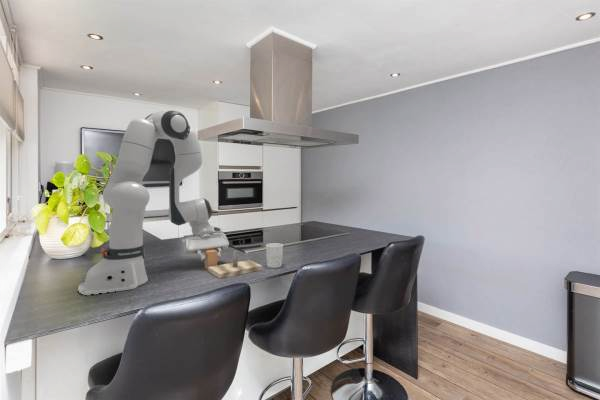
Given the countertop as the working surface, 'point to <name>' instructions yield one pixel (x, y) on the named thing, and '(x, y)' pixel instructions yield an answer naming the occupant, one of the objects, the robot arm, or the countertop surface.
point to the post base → (234, 268)
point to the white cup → (274, 255)
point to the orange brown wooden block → (210, 258)
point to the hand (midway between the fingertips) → (211, 258)
